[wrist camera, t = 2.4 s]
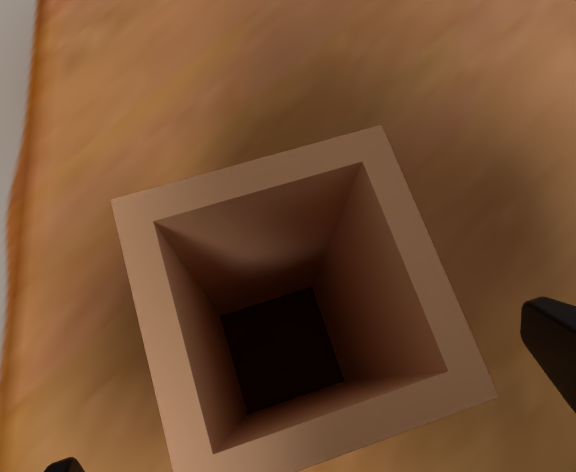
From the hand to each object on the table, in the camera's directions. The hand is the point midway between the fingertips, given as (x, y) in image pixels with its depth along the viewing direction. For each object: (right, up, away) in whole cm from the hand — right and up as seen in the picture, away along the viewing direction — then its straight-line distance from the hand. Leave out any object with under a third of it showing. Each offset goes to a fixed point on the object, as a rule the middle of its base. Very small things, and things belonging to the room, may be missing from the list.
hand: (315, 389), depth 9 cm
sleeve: (-1, -1, +9) cm, 9 cm away
